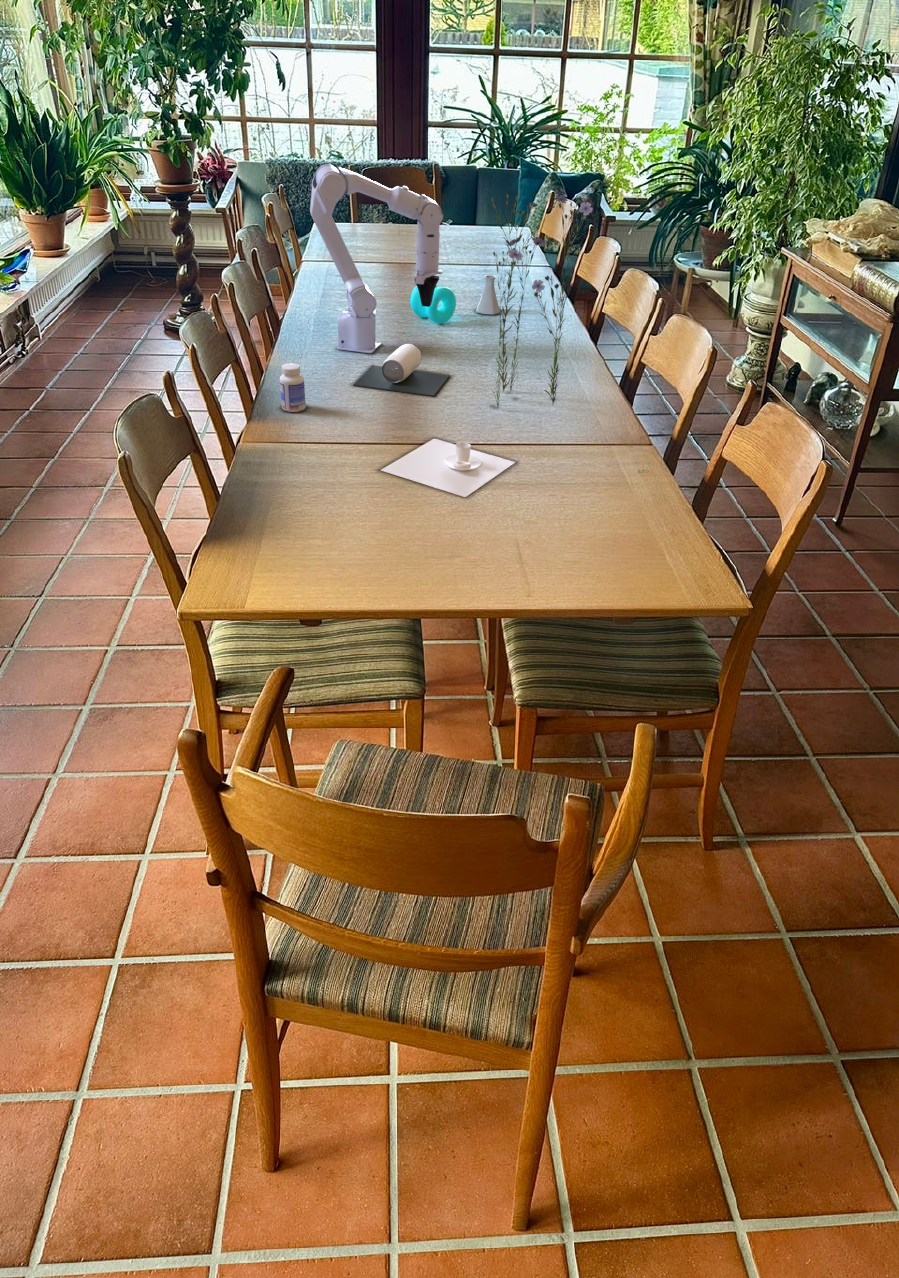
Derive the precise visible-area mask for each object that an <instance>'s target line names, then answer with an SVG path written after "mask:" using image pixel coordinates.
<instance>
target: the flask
mask: <svg viewBox="0 0 899 1278" xmlns="http://www.w3.org/2000/svg"><path fill="white" fill-rule="evenodd" d="M484 280H485V283H484V287H483V291H482V294H481V296H480V299H479V301H478V304H477V306H476V310H475V312H476V313H479V314H481V315H497V314H500V312H499V310H500V308H499V307H500V303H499V301H498V296H497V293H496V288H495V280H496V276H495V275H492V274H490V275H489V274H486V275H484Z"/></svg>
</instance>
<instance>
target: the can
mask: <svg viewBox="0 0 899 1278" xmlns="http://www.w3.org/2000/svg"><path fill="white" fill-rule="evenodd" d="M421 362H422V354H421V351H420V350H419V348H418V347H417V346H416V345H414V344H411V343H404V344H402V345H400V346H399V347H398V348H396V349H395V350H394V351H393V352H392V353H391V354H390V355H389V356H388V357H386V358H385V360H384V361H383V362H382V366H381V367H382V374H383V376H384V378H385V379H386V380H387V381H389V382H391V383H398V382H401V381H403V380H404V379H406V378H407V377H408V376H409V375H410V374H411V373H412V372H413V371H416V369H417V368H418V367H419V366H420V365H421Z"/></svg>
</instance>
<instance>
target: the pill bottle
mask: <svg viewBox="0 0 899 1278" xmlns="http://www.w3.org/2000/svg"><path fill="white" fill-rule="evenodd" d="M281 373H282V374H281V375H280V376H279V390H280V391H279V392H280V406H281V409H282V410H283V411H285V412H287V413H298V412H302V411H304V410H305V409H306V390H305V389H306V387H305V377H304V375H302V373H301V366H300V365H299V364H298V363H292V362H291V363H284V364H282V366H281Z"/></svg>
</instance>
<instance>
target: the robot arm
mask: <svg viewBox="0 0 899 1278" xmlns="http://www.w3.org/2000/svg"><path fill="white" fill-rule="evenodd" d="M409 189H410V188H409V187H408V186H407V185H402V186H399V185H397V186H395V187H393V188H389V187H387V186H385V185H382V184H381V183H379V182H377V181H373V180H371V179H370V178H367V177H366V176H363V175H361V174H359V173H358V172H354V171H351V170H348V169H346V168H342V167H338V168H337V167H336V166H334V165H332V164H329V163H326V164H322V165H321V166H319V167H318V168H317V169H316V171H315V174H314V176H313V178H312V180H311V194H310V195H311V196H310V205H309V212H310V216H311V218H312V220H313V222H314V225H315V227H316V228H317V230H318V233H319V234H320V237H321V239H322V240H323V241H322V242H323V243H324V245H325V247H326V249H327V252H328V253H329V255H330V258H331V259H332V261H333V263H334V266H335V268H336V270H337V272H338V273H339V276H340V278H341V280H342V283H343V284H344V287H345V290H346V299H347V301H348V302H349V304H350V305H349V307H348V309H347V311H345V310H343V311H341V312H340V313H339V315H338V319H337V347H336V349H337V350H342V351H347V352H355V353H356V352H357V353H364V354H373V353H374V352H375V351H376V350H377V349H378V348H379V347H380V346H381V342H378V341H376V340H377V338H376V336H377V334H376V331H377V330H376V329H377V328H376V324H377V323H376V321H377V320H376V317H377V315H376V314H377V312H376V309H377V299H376V297H375V295H374V294H373V293H372V291H371V289H370V286H368V285H367V284H366V283H364V280H363V279H362V277H361V274H360V273H359V271H358V268H357V266H356V264H355V262H354V260H353V258H352V255H351V253H350V251H349V250H348V246H347V245H346V243H345V241H344V238H343V237H342V234H341V232H340V230H339V228H338V225H337V223H336V222H335V219H334V217H333V213H334V210H335V208H336V206H337V203H338V202H339V201H340V200H341V199H342V197H343V196H344V195H345V194H346V195H347V196H350V195H352V194H355V193H359V194H363V195H365V196H367V197H371V198H373V199H376V200H379V201H382V202H384V203H387V206H388V209H389V211H391V212H394V213H396V214H398V215H401V216H403V217H406V218H407V219H411V220H415V221H416V220H417V225H416V226H417V229H416V251H415V253H416V254H415V268H414V271H415V277H414V284H415V285H416V286H417V288H418V290H419V294H420V299H421V304H422V306H426V307H430V306H431V303H432V299H433V294H434V290H435V287H436V286H437V284H438V282H439V281H440V276H439V275H443V274H444V270H443V269H440V268H439V265H440V263H439V262H440V238H441V237H440V235H441V234H440V224H441V223H442V222H443V219H444V214H443V211H442V210H443V209H442V208H441V206H440V205H439V204H438V203H437V202H436V200H433V199H432V198H430V197H429V196H426V195H425V194H423V193H422V194H421V195H420V194H418V193H415V192H413V191H411V190H409Z"/></svg>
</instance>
